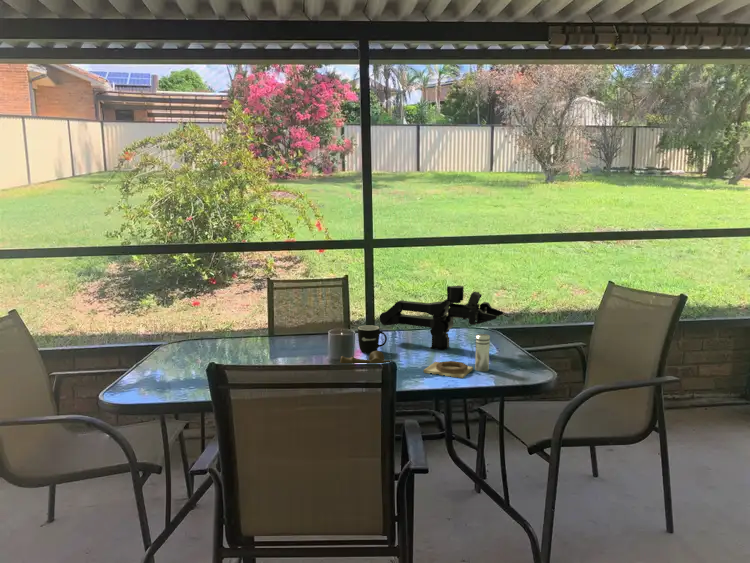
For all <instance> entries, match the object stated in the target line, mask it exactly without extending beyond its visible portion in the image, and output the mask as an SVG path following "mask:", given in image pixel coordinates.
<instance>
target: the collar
mask: <svg viewBox="0 0 750 563" xmlns="http://www.w3.org/2000/svg"><path fill="white" fill-rule="evenodd" d="M473 369H474V367H473V366H469V365H467V364H466V363H464V362H461V361H454V360H448V361H447V360H446V361H433V363H431V364H430V365H429V366H427V367H426V368H424V369H423V372H424V374H430V373H432V374H431V375H436V374H439V375H438V376H443V375H445V377H450V376H451V378H457V377H458V378H459V379H464V378H465V377H466V376H467V375H468V374H470V372H472V371H473ZM458 378H457V379H458Z"/></svg>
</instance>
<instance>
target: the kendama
mask: <svg viewBox="0 0 750 563" xmlns="http://www.w3.org/2000/svg"><path fill="white" fill-rule="evenodd" d="M390 361H393V359H392V360H389V359H386V360H385V354H384V353H383V352H382V351H380V350H377V351H373V352H372V353H369V355H368V359H361V358H357V357H354V356H351V357H346V356H344V355H342V356H340V361H339V362H340V363H384V364H385V363H386V362H390ZM340 363H339V364H340ZM390 363H391V362H390ZM386 364H387V363H386Z"/></svg>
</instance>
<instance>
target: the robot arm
mask: <svg viewBox="0 0 750 563" xmlns="http://www.w3.org/2000/svg"><path fill="white" fill-rule="evenodd" d="M464 290H465V289H464V286H463V285H453V286H452V285H451V286H450V285H448V286H447V287H446V292H447V293H446V294H447V295H446V299H444V300H443V301H434V302H433V301H432V302H419V301H412V300H411V301H409V300H404V299H401V300H397V301H396V302H395V303H394V304H393V305H392V306H391V307H390V308H388V309H387V310H386V311H384V312H382V313H380V314H379V322H380V323H381V325H383V326H394V325H406V326H417V327H422V328H423V327H425V328H430V330H429V331H430V335H431V346H430V348H429V349H433V350H441V351H446V350H447V349H448V348H450V337H449V332H450V330H451V329H452V328H453V326H454V323H455V322H454V318H456V319H462V320H463V321H465V320H468V324H470V325H471V326H472V325H473V326H476V325H480V324H483V323H487V322H489V321H493V320H497V318H498V316H501V315H504V311H502V310H500V309H497V308H493V307H492V306H491V303H489V301H484V302H482V303H481V304H480V303H479V302H480V300H481V298H482V296H483V295H482V294H481V293H480V292H479V291H473V292H471V294H470V297H469V299H468V301H467V303H466V304H461V302H462V301H464ZM404 311H407V312H415V313H416V312H417V313H425V314H428V315H430V316H431V317H430V316H421V315H412V314H403V313H402V312H404Z"/></svg>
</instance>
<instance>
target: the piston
mask: <svg viewBox="0 0 750 563" xmlns="http://www.w3.org/2000/svg"><path fill="white" fill-rule="evenodd" d="M490 340H491V335H489V334H485V333H478V334H476V335H475V355H474V357H475V358H474V359H475V360H474V361H475V362H474V369H475V371H478V372H488V371H489V370H490V369H489V368H490V345H491V344H490V343H491V342H490Z"/></svg>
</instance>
